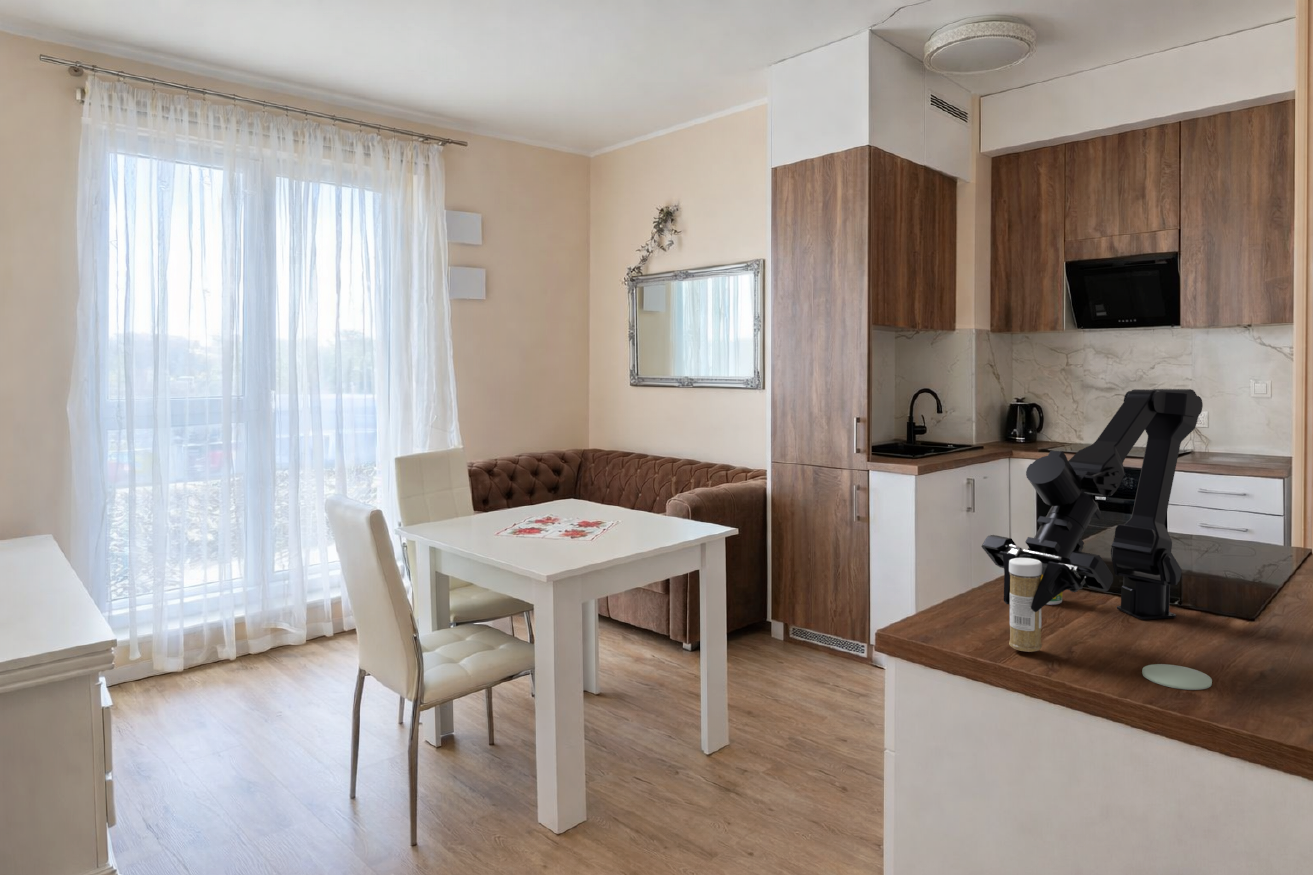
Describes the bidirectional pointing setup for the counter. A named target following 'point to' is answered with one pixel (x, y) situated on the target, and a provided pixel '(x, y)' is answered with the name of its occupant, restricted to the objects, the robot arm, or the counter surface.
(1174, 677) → the mat
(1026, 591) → the sprinkles bottle
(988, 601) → the counter surface
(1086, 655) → the counter surface
